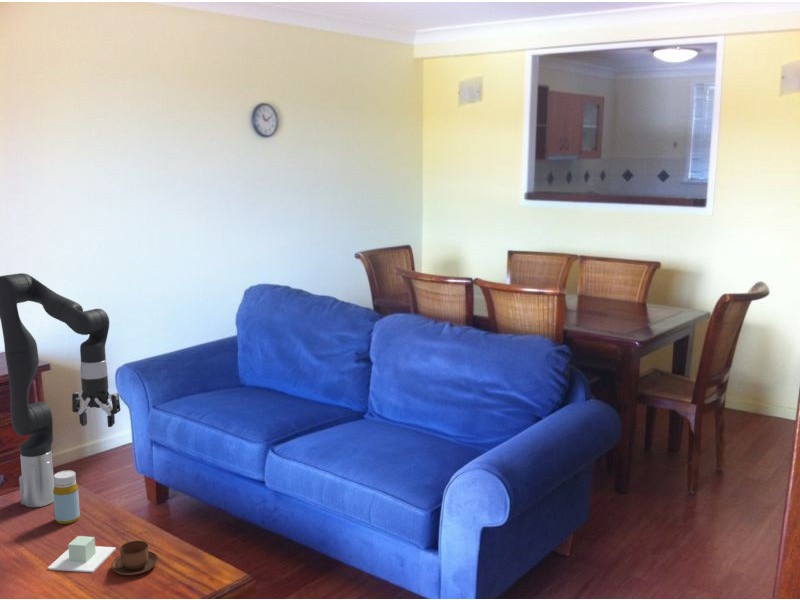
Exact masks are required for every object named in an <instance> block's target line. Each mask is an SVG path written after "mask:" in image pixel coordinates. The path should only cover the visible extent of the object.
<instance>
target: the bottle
mask: <svg viewBox="0 0 800 600" xmlns="http://www.w3.org/2000/svg"><path fill="white" fill-rule="evenodd" d="M53 476H54V490H53V495H54V501H53V506H54V518H55V522H56V523H57V524H59V525H69V524H73V523H75V522H77V521H78V520H79V519H80V517H81V515H80V514H81V513H80V511H81V510H80V497H79V486H78V484H77V475H76V472H75V471H74V470H61V471H58V472H56V473H54V474H53Z"/></svg>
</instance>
